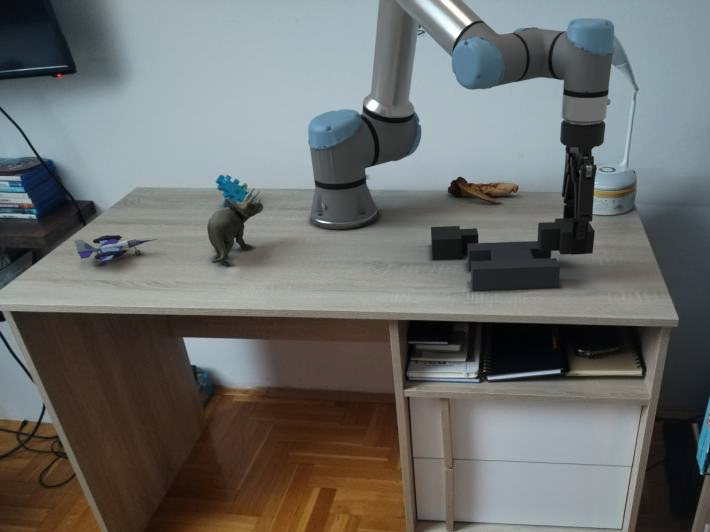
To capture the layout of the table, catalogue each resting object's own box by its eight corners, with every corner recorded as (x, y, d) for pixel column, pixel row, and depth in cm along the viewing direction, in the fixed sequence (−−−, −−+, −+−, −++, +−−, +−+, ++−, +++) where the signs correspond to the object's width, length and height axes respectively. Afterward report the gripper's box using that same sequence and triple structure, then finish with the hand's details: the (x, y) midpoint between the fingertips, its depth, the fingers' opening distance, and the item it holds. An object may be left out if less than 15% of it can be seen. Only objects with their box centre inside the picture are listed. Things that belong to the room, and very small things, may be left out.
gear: (242, 208, 154) (210, 176, 152) (228, 224, 156) (197, 193, 155) (264, 199, 164) (235, 169, 162) (250, 214, 166) (222, 185, 165)
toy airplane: (167, 249, 137) (162, 233, 136) (114, 276, 127) (109, 259, 125) (120, 241, 142) (116, 225, 140) (66, 266, 131) (60, 250, 129)
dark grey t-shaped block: (431, 246, 138) (430, 226, 135) (476, 244, 138) (476, 225, 136) (432, 259, 132) (431, 239, 129) (479, 258, 132) (479, 238, 130)
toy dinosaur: (221, 281, 124) (208, 225, 118) (181, 277, 126) (167, 222, 120) (271, 237, 143) (263, 187, 137) (236, 234, 144) (226, 185, 138)
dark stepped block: (535, 240, 125) (536, 219, 123) (584, 238, 126) (586, 217, 124) (541, 255, 119) (543, 233, 117) (592, 253, 120) (594, 231, 118)
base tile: (467, 263, 130) (467, 243, 128) (546, 260, 131) (548, 240, 128) (472, 291, 120) (472, 269, 117) (558, 287, 120) (559, 266, 118)
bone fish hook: (445, 205, 160) (518, 205, 158) (444, 187, 157) (518, 186, 156) (448, 191, 168) (518, 191, 166) (447, 174, 165) (518, 173, 164)
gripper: (621, 133, 102) (606, 266, 114) (591, 107, 119) (580, 225, 131) (574, 135, 102) (563, 268, 114) (551, 108, 119) (544, 226, 131)
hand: (573, 245), depth 123 cm, fingers closed on dark stepped block, 7 cm apart
